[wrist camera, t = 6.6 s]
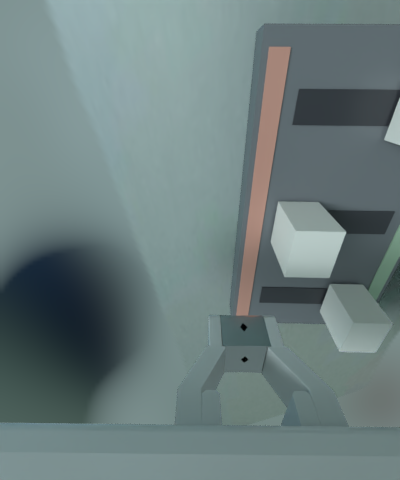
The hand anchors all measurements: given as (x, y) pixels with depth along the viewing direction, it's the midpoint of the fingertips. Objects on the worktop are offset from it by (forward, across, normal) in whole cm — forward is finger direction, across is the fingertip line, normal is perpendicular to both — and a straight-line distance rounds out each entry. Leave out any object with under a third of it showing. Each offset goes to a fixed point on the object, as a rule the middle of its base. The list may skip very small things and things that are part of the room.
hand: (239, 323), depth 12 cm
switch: (+10, -12, +8) cm, 17 cm away
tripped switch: (+10, -5, 0) cm, 11 cm away
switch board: (+12, -8, 0) cm, 15 cm away
